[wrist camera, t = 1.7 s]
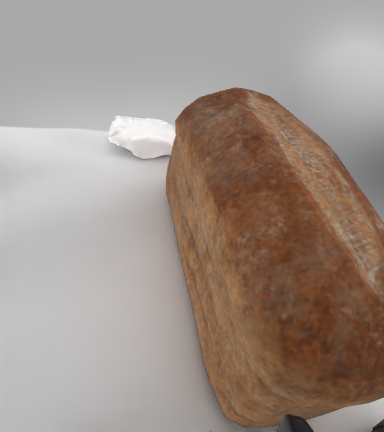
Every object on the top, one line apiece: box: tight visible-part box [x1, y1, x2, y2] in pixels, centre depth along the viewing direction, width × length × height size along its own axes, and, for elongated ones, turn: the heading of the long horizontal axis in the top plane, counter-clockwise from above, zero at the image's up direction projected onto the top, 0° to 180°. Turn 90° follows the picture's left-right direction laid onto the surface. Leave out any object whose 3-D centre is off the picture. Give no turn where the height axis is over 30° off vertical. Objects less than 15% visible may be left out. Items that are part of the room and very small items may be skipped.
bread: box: [166, 88, 384, 428], centre depth 26 cm, size 12×28×14 cm, turn 12°
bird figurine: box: [108, 115, 176, 159], centre depth 40 cm, size 5×7×10 cm
